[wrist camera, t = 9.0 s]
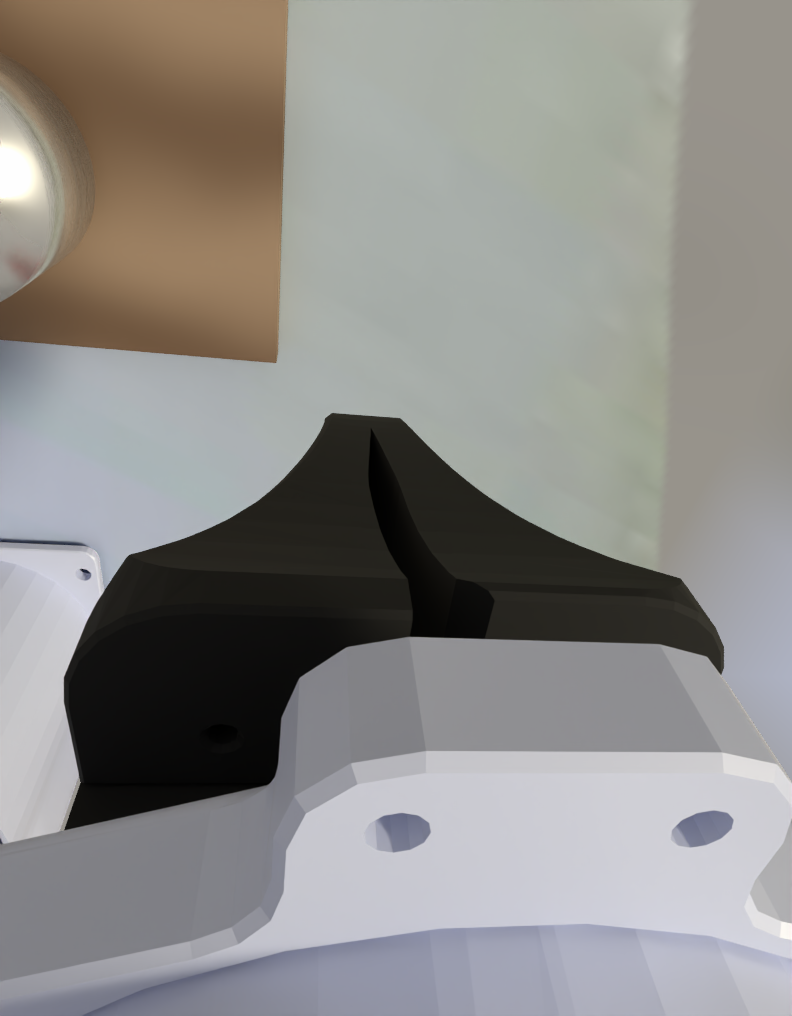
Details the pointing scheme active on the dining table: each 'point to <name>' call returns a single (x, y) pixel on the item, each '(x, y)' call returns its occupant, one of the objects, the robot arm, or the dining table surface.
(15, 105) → the orange and grey bar
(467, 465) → the dining table surface
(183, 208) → the brown flat board
